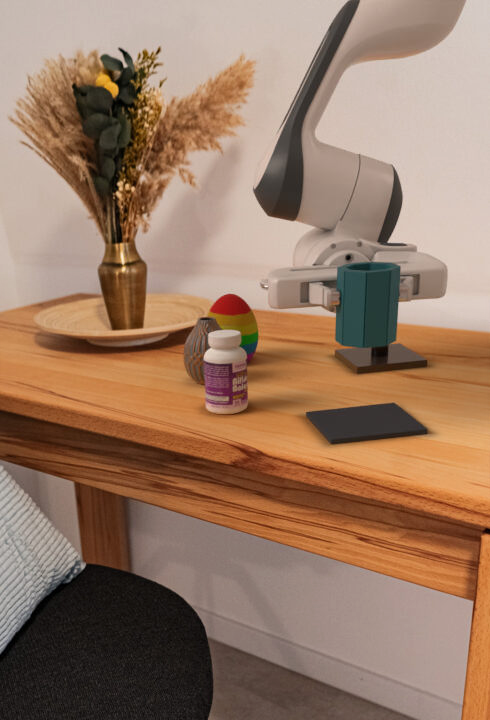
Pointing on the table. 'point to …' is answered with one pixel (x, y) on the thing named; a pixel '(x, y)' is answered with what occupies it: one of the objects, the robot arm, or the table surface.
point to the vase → (198, 348)
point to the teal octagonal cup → (367, 304)
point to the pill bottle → (225, 373)
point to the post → (380, 358)
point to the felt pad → (365, 423)
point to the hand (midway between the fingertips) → (369, 296)
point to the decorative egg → (237, 320)
